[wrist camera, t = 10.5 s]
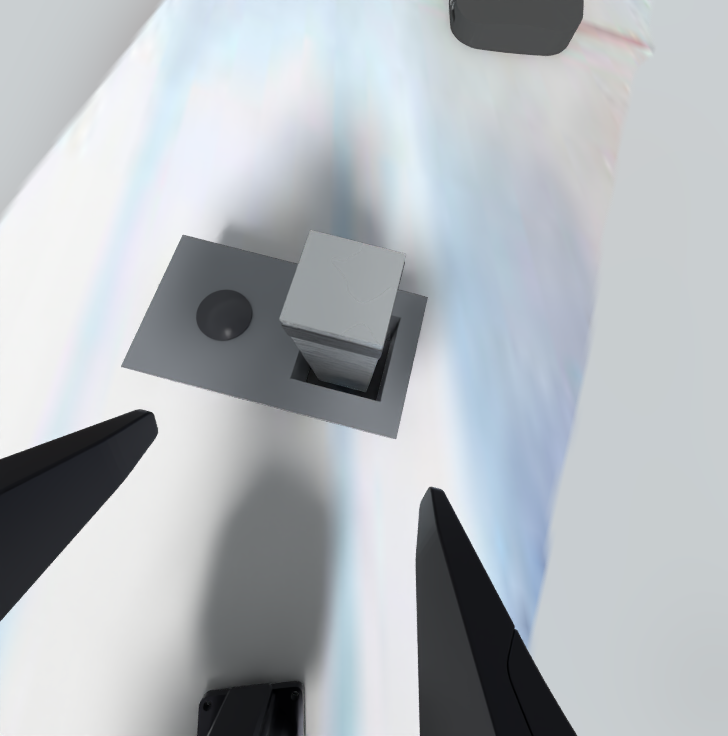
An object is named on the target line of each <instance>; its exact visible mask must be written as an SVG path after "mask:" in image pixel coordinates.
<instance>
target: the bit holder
mask: <svg viewBox="0 0 728 736" xmlns="http://www.w3.org/2000/svg"><path fill="white" fill-rule="evenodd" d="M297 266H298V264H296V263H292V262H288V261H284V260H280V259H276V258H272V257H268V256H264V255H261V254H257V253H253V252H249V251H245V250H241V249H237V248H233V247H229V246H225V245H221V244H217V243H213V242H210V241H206V240H202V239H198V238H194V237H190V236H186V235H182V238H181V240H180V242H179V244H178V246H177V248H176V250H175V253H174V255H173V257H172V259H171V261H170V263H169V265H168V267H167V270H166V272H165V274H164V276H163V278H162V280H161V282H160V284H159V287H158V289H157V291H156V293H155V295H154V297H153V299H152V302H151V304H150V306H149V308H148V310H147V312H146V314H145V316H144V319H143V321H142V323H141V325H140V327H139V329H138V331H137V333H136V336H135V338H134V340H133V342H132V344H131V346H130V348H129V351H128V353H127V355H126V357H125V359H124V361H123V363H122V365H121V367H124V368H128V369H131V370H135V371H139V372H142V373H146V374H150V375H153V376H157V377H160V378H164V379H168V380H171V381H175V382H179V383H183V384H187V385H190V386H194V387H198V388H202V389H206V390H209V391H213V392H217V393H221V394H225V395H228V396H232V397H236V398H240V399H244V400H247V401H251V402H255V403H259V404H262V405H266V406H270V407H274V408H278V409H281V410H285V411H289V412H293V413H297V414H300V415H304V416H308V417H312V418H316V419H319V420H323V421H327V422H331V423H335V424H338V425H342V426H346V427H350V428H354V429H357V430H361V431H365V432H369V433H373V434H376V435H380V436H384V437H388V438H393V439H396V437H397V433H398V428H399V424H400V419H401V415H402V410H403V406H404V401H405V397H406V392H407V388H408V383H409V379H410V374H411V370H412V366H413V361H414V357H415V352H416V348H417V343H418V339H419V334H420V330H421V325H422V321H423V316H424V312H425V307H426V303H427V298H428V297H425V296H421V295H417V294H414V293H410V292H406V291H402V290H398V292H397V296H396V300H395V304H394V308H393V312H392V316H391V320H390V324H389V328H388V332H387V336H386V339H388V340H391V342H390V346H389V351H388V355H387V359H386V363H385V367H384V371H383V375H382V379H381V383H380V387H379V391H378V395H377V399H376V401H375V400H371V399H367V398H363V397H359V396H356V395H352V394H348V393H344V392H340V391H337V390H333V389H329V388H325V387H321V386H317V385H314V384H310V383H306V380H307V376H308V373H309V370H310V365H309V364H308V362H307V361H306V359H305V358H304V356H303V355H302V353H301V352H300V350H299V349H298V347H297V345H296V344H295V342H294V341H293V339H292V338H291V337H290V336H288V335H287V333H286V332H285V330H284V329H283V327H282V323H281V321H280V320H279V318H280V315H281V312H282V309H283V307H284V304H285V301H286V298H287V295H288V292H289V289H290V286H291V284H292V281H293V278H294V275H295V272H296V269H297Z"/></svg>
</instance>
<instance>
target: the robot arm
mask: <svg viewBox="0 0 728 736" xmlns="http://www.w3.org/2000/svg"><path fill="white" fill-rule="evenodd" d="M157 434H158V427H157V424H156V420H155V416H154V414H153V413H152V412H149V411H146V410H141V409H138V410H134V411H131V412H129V413H126V414H123V415H120V416H118V417H115V418H112V419H109V420H107V421H104V422H101V423H99V424H96V425H93V426H90V427H88V428H85V429H82V430H79V431H77V432H74V433H71V434H68V435H66V436H63V437H60V438H57V439H55V440H52V441H49V442H46V443H44V444H41V445H38V446H35V447H33V448H30V449H27V450H24V451H22V452H19V453H16V454H13V455H11V456H8V457H5V458H2V459H0V621H1V620H2V619H3V618H4V617H5V616H6V614H7V613H8V612H9V611H10V610H11V609H12V608H13V606H14V605H15V604H16V603H17V602H18V601H19V600H20V599H21V597H22V596H23V595H24V594H25V593H26V592H27V591H28V589H29V588H30V587H31V586H32V585H33V584H34V583H35V581H36V580H37V579H38V578H39V577H40V576H41V575H42V574H43V572H44V571H45V570H46V569H47V568H48V567H49V566H50V564H51V563H52V562H53V561H54V560H55V559H56V558H57V557H58V555H59V554H60V553H61V552H62V551H63V550H64V549H65V547H66V546H67V545H68V544H69V543H70V542H71V541H72V540H73V538H74V537H75V536H76V535H77V534H78V533H79V532H80V530H81V529H82V528H83V527H84V526H85V525H86V524H87V522H88V521H89V520H90V519H91V518H92V517H93V516H94V515H95V513H96V512H97V511H98V510H99V509H100V508H101V507H102V505H103V504H104V503H105V502H106V501H107V500H108V499H109V498H110V496H111V495H112V494H113V493H114V492H115V491H116V490H117V488H118V487H119V486H120V485H121V484H122V483H123V481H124V480H125V479H126V478H127V476H128V475H129V474H130V472H131V471H132V470H133V468H134V467H135V465H136V464H137V463H138V461H139V460H140V459H141V457H142V456H143V455H144V453H145V452H146V450H147V449H148V448H149V446H150V445H151V444H152V442H153V441H154V439H155V438H156V436H157ZM416 601H417V641H418V680H419V720H420V736H577V735H576V733H575V731H574V730H573V728H572V726H571V725H570V723H569V721H568V720H567V718H566V716H565V715H564V713H563V712H562V710H561V708H560V706H559V705H558V703H557V701H556V700H555V698H554V696H553V694H552V693H551V691H550V689H549V688H548V686H547V684H546V683H545V681H544V679H543V677H542V676H541V674H540V672H539V670H538V668H537V666H536V665H535V663H534V661H533V659H532V657H531V655H530V654H529V652H528V650H527V648H526V646H525V644H524V642H523V640H522V639H521V637H520V635H519V633H518V631H517V630H516V629H514V628H515V626H514V624H513V622H512V620H511V618H510V616H509V614H508V612H507V610H506V608H505V607H504V605H503V603H502V601H501V599H500V597H499V595H498V593H497V591H496V590H495V588H494V586H493V584H492V582H491V580H490V578H489V576H488V574H487V572H486V571H485V569H484V567H483V565H482V563H481V561H480V559H479V557H478V555H477V553H476V552H475V550H474V548H473V546H472V544H471V542H470V540H469V538H468V536H467V535H466V533H465V531H464V529H463V527H462V525H461V523H460V521H459V519H458V517H457V516H456V514H455V512H454V510H453V508H452V506H451V504H450V502H449V500H448V498H447V497H446V495H445V493H444V491H443V490H441V489H438V488H435V487H429V488H428V490H427V491H426V493H425V495H424V497H423V499H422V501H421V503H420V509H419V521H418V534H417V547H416ZM294 691H297V692H298V693H299V694H298V695H294V694H293V692H294ZM206 701H209V702H210V703H211V705H208V704H207V703H206ZM197 736H304V688H303V685H302V683H300V682H299V681H293V682H284V683H275V684H269V683H267V684H258V685H249V686H240V687H232V688H230V689H221V690H212V691H208V692H207V693H206V694H205V695H204V697H203V698H202V700H201V702H200V704H199V715H198V734H197Z"/></svg>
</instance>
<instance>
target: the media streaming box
mask: <svg viewBox="0 0 728 736" xmlns="http://www.w3.org/2000/svg"><path fill="white" fill-rule="evenodd" d="M449 11H450V25H451V30H452V32H453V34H454V35H455V37H456V38H457V39H458V40H460V41H461V42H462V43H464V44H466V45H468V46H470V47H473V48H477V49H483V50H491V51H499V52H508V53H518V54H530V55H547V56H548V55H554V54H558V53H560V52H562V51H563V50H564V49H565V48H566V47H567V46H568V44H569V42H570V40H571V39H572V37H573V35H574V33H575V32H576V30H577V28H578V26H579V24H580V23H581V21H582V18H583V0H449Z"/></svg>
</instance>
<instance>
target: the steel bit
mask: <svg viewBox="0 0 728 736" xmlns="http://www.w3.org/2000/svg"><path fill="white" fill-rule="evenodd" d="M405 257H406V254H405V253H401V252H397V251H393V250H389V249H385V248H381V247H377V246H373V245H369V244H365V243H361V242H357V241H353V240H349V239H345V238H341V237H337V236H333V235H329V234H325V233H321V232H318V231H314V230H310V232H309V235H308V238H307V240H306V243H305V246H304V249H303V252H302V255H301V258H300V261H299V263H298V266H297V269H296V272H295V275H294V278H293V281H292V284H291V286H290V289H289V292H288V295H287V298H286V301H285V304H284V307H283V309H282V312H281V315H280V318H279V320H280V321H281V323H282V327H283V329H284V330H285V332H286V333H287V335H288V336H290V337H291V338H292V339H293V341H294V342H295V344H296V345H297V347H298V349H299V350H300V352H301V353H302V355H303V356H304V358H305V359H306V361H307V362H308V364H309V365H310V367H311V368H312V370H313V371H314V373H315V374H316V376H317V377H318V379H319V380H320V381H324V382H328V383H332V384H336V385H340V386H343V387H347V388H351V389H355V390H359V391H363V392H366V391H367V389H368V386H369V383H370V380H371V378H372V375H373V372H374V370H375V367H376V364H377V361H378V359H380V357H381V354H382V352H383V348H384V344H385V340H386V336H387V332H388V328H389V324H390V320H391V316H392V312H393V308H394V304H395V300H396V296H397V292H398V288H399V284H400V280H401V276H402V272H403V268H404V264H405V262H404V261H405Z"/></svg>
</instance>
